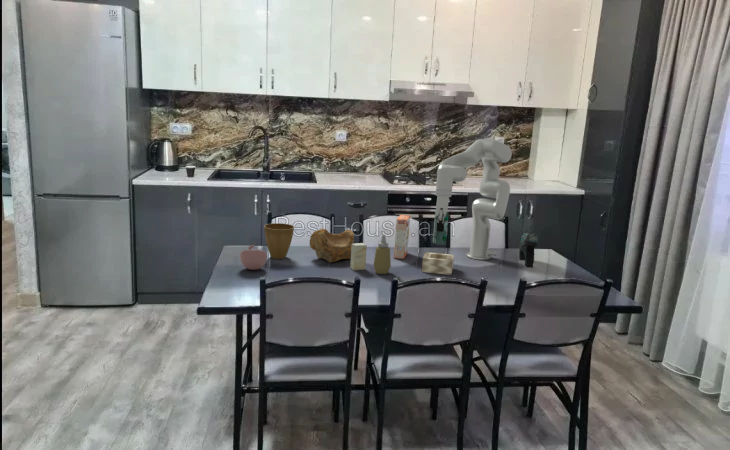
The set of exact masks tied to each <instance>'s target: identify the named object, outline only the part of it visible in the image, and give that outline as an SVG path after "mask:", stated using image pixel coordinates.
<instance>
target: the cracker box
mask: <svg viewBox="0 0 730 450" xmlns="http://www.w3.org/2000/svg"><path fill="white" fill-rule="evenodd" d="M395 223H396V225H395V237H394V248H393V249H394V252H393V258H394V259H397V260H398V259H400V260H404V259H405V258H406V256H407V254H408V250H409V249H408V248H409V238H410V237H409V236H410V225H411V215H410V214H409V215H408V214H399V216H398V217H397V218H396V222H395Z"/></svg>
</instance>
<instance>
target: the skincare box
mask: <svg viewBox="0 0 730 450" xmlns="http://www.w3.org/2000/svg"><path fill="white" fill-rule="evenodd" d="M366 261H367V244H366V243H364V242H360V243H359V242H358V243H357V242H356V243H354V244H352V245H351V258H350V266H349V267H350V269H351V270H353V271H361V270H366Z"/></svg>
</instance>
